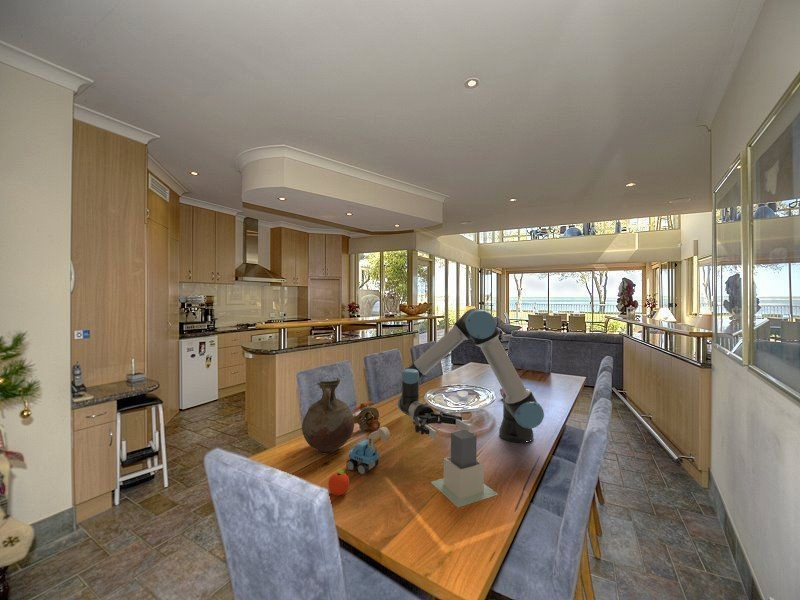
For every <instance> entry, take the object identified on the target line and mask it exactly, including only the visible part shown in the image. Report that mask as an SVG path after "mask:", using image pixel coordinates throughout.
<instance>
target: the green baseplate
mask: <svg viewBox="0 0 800 600" xmlns="http://www.w3.org/2000/svg"><path fill="white" fill-rule="evenodd" d="M430 483H431V484H432V485H433V486H434V487H435V488H436V489H437V490H438V491H440V493H442V494H443V495H444V496H445V497H446V498H447V499H448V500H449V501H450V502H451V503H452V504H453V505H454V506H455V507H456V508H461V507H463V506H468V505H470V504H471V505H472V504H473V503H476V502H480V501H482V500H485V499H489V498H492V497H494V496H498V495H499V493H497V491H495V490H494V489H492V488H490V486H488V485H487V484H485V483H484V492H481V493H478V494H475V495H472V496H468V497H465V498H462V499H460V498H458V497H457V496H456V495H455V494H454V493H453V492H452V491H451V490H449V489H448V488H447V487H446V486H445V485H444V477H443V478H440V479H435V480H433V481H430Z"/></svg>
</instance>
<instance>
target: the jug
mask: <svg viewBox="0 0 800 600" xmlns="http://www.w3.org/2000/svg"><path fill="white" fill-rule="evenodd" d="M340 383H341V378H340V377H339V378H336V379H335V380H327V381H326V380H320V381H319V382H317V385H318V386H319V388H320V389H321V390H322V396H321V398H320V399H319V400H317V401H316V402H314V403H313V404H311V405H310V406H309V407H308V409H307V411H306V413H305V414H304V417H303V420H302V424H301V425H302V426H301V430H302V435H303V437H304V439H305V441H306V443H307V444H308V445H309V446H310V447H312V448H313V449H314V450H316V451H317V452H318V453H319V452H320V454H323V453H326V454H325V455H327V453H328V454H331V452H332V453H334V452H336V451H338V450H339V448H341V447H342V446H344V445H346V443H347V442H348V441H349V440H350V438H351V436H352V435H353V433H354V429H355V424H354V419H353V411H352V410H351V408H350V407H349V405H348V403H346V402H344V401H343V400H341V399H340V398H337V397H336V389H337V388H338V386H339V384H340Z"/></svg>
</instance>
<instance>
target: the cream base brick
mask: <svg viewBox="0 0 800 600" xmlns="http://www.w3.org/2000/svg"><path fill="white" fill-rule="evenodd" d="M443 478H444V485H445V486H446V487H447V488H448V489H449V490H451V491H452V492H453V493H454V494H455V495H456V496H457V497H458V498H460V499H462V498H465V497H468V496H472V495H475V494H478V493H481V492H484V484H485V464H484V463H483V462H482V461H479V460H478V459H477V458H476V465H475V466H471V467H468V468H464V469H460V468H459V467H457V466H456V465H455V464H453V463H452V462H451V455H450V456H446V457H443Z"/></svg>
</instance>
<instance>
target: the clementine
mask: <svg viewBox="0 0 800 600" xmlns="http://www.w3.org/2000/svg"><path fill="white" fill-rule="evenodd" d="M329 477H330V478H329V480H328V481H327V482H328V486H327V487H328V490H329V491H330V493H331V494H332V495H334V496H339V497H340V496H343V495H344V494H346V492H347V491H348V490H349V488H350V483H351V482H350V478H349V476H348V475H347V471H346V470H339V471H336V472H335V473H333V474H331V476H329Z"/></svg>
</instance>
